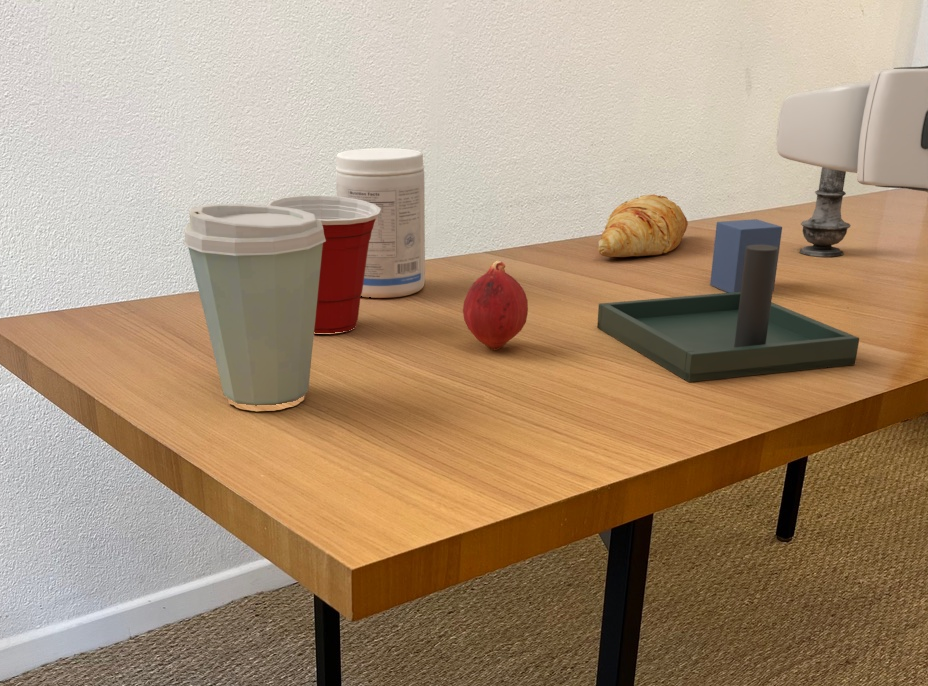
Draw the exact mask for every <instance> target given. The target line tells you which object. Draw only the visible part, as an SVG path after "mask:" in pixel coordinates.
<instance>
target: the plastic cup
mask: <svg viewBox="0 0 928 686" xmlns="http://www.w3.org/2000/svg"><path fill="white" fill-rule="evenodd" d="M266 205H270V206H278V207H286V208H294V209H299V210H302V211H306V212H309V213H312V214H314V215H315V217H316V219H319V220H320V221H321V222H322V226H323V230H324V236H325V240H326V241H325V242H323V247H322V257H321V267H320V277H319V287H318V297H317V307H316V317H315V327H314V332H315V333H335V332H343V331H349V330H351V329H353V328H355V329H356V327H357V323H358V320H359V314H360V313H359V312H360V304H361V298H362V297H361V293H362V289H363V282H364V275H365V267H366V260H367V253H368V246H369V241H370V238H371V232H372V229H373V226H374V222H375V220H376V218H378V216H379V214H380V211H381V209H380V208H379V207H378V206H376V205H375V204H372V203H369V202H366V201H362V200H358V199H351V198H345V197H337V196H335V195H334V196H332V195H295V196H285V197H280V198H277V199H273V200H270V201H268V202H267V203H266ZM355 326H356V327H355Z"/></svg>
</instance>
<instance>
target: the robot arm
mask: <svg viewBox="0 0 928 686" xmlns="http://www.w3.org/2000/svg"><path fill="white" fill-rule="evenodd" d="M775 140H776V141H775V142H776V143H775V145H776V151H777V154H778V155H779V156H780V157H781V158H784V159H786V160H789V161H794V162H798V163H802V164H804V165H805V164H806V165H811V166H816V167H819V168H822V167H824V168H829V169H834V170H839V171H845V172H846V173H853V174H856V181H857V182H858V184H860V185H864V186H873V187H878V188H889V189H907V190H912V191H919V192H925V193H928V65H924V66H904V67H903V66H901V67H893V68H885V69H884V68H883V69H877V70H875V71H874V72H873V73H872V77H871V80H869V81H859V82H853V83H845V84H840V85H834V86H828V87H821V88H815V89H812V90H806V91H801V92H797V93H793V94H790V95H788V96H787V97H786V98H784V100H783V101H782V103H781V106H780V109H779V115H778V121H777V129H776V138H775Z"/></svg>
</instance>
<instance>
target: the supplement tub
mask: <svg viewBox="0 0 928 686" xmlns="http://www.w3.org/2000/svg"><path fill="white" fill-rule="evenodd" d="M424 169H425V165H424V154H423V152H422V151H420V150H417V149H411V148H400V147H373V148H356V149H348V150H343V151H340V152H338V153H337V154H336V166H335V182H336V184H335V185H336V197H345V198H351V199H358V200H362V201H366V202H369V203H372V204H375V205H376V206H378V207H379V208H380V209H381V211H380V214H379V216H378V218H376V220H375V222H374V226H373V229H372V232H371V238H370V241H369V246H368V253H367V260H366V267H365V275H364V282H363V289H362V293H361V296H362V297H361V298H369V297H371V299H392V298H401V297H406V296H410V295H413V294H416V293H418V292H420V291H421V290H422V289H423V288H424V286H425V283H426V282H425V281H426V229H425V228H426V223H425V221H426V220H425V219H426V218H425V217H426V214H425V211H426V210H425V207H426V206H425V205H426V203H425V199H426V198H425V196H426V195H425V170H424Z"/></svg>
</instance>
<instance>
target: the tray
mask: <svg viewBox="0 0 928 686" xmlns="http://www.w3.org/2000/svg"><path fill="white" fill-rule="evenodd" d="M777 256H778V247H775V246H771V245H749V246H747V247H746V252H745V260H744V269H743V277H742V285H741V292H731V293H728V292H720V293H707V294H695V295H686V296H685V295H684V296H674V297H661V298H648V299H636V300H627V301H625V300H624V301H614V302H602V303H601V302H600V303H598V311H597V324H596V327H597V329H599V330H601V331H602V332H603V333H606V334H607V335H609V336H611V337H612V338H614V339H616V340H617V341H619V342H621V343H622V344H623V345H626V346H627V347H629V348H631V349H632V350H634V351H636V352H637V353H639V354H640V355H642V356H644V357H646V358H647V359H649V360H651V361H652V362H653V363H656V364H657V365H659V366H660V367H662V368H664V369H666V370H667V371H669V372H671V373H672V374H674V375H676V376H677V377H679V378H681V379H682V380H684V379H685V380H684V381H686V382H687V383H694V382H695V383H696V382H703V381H713V380H722V379H733V378H742V377H752V376H760V375H761V376H762V375H768V374H769V375H771V374H779V373H787V372H788V373H789V372H799V371H807V370H818V369H826V368H827V367H828V368H836V367H845V366H846V367H847V366H854V365H856V361H857V355H858V350H859V343H860V337H859V336H856V335H853V334H851V333H848V332H847V331H844V330H841V329H838V328H836V327H834V326H831V325H829V324H826V323H824V322H821V321H819V320H816V319H814V318H812V317H809V316H806V315H804V314H803V313H802V314H801V313H799V312H797V311H794V310H792V309H790V308H787V307H785V306H782V305H780V304H777V303H775V302H772V300H773V293H774V291H773V286H774V287H775V285H774V278H775V271H776V272H777V270H776V263H777ZM778 257H779V256H778ZM777 264H778V263H777ZM775 279H776V278H775Z"/></svg>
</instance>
